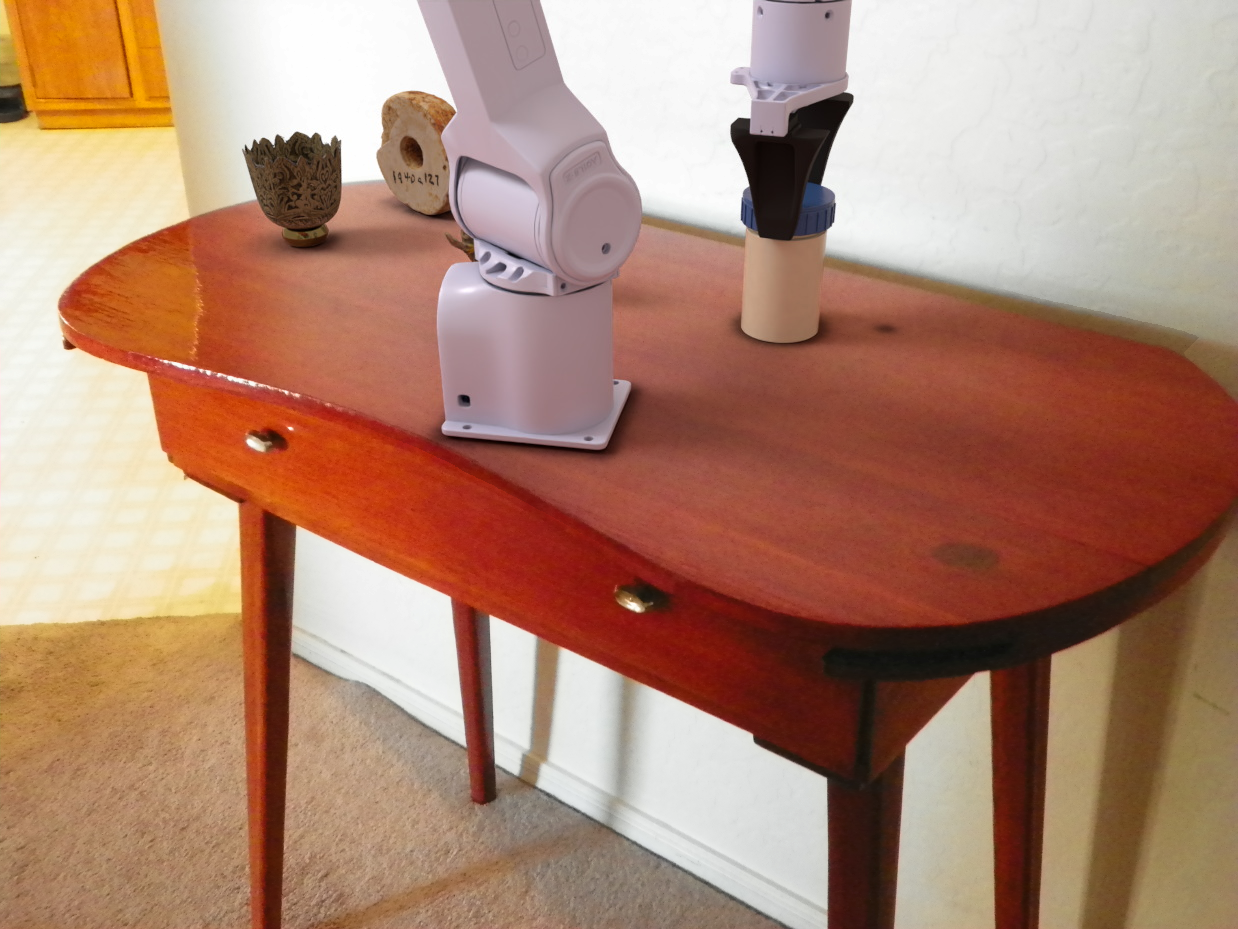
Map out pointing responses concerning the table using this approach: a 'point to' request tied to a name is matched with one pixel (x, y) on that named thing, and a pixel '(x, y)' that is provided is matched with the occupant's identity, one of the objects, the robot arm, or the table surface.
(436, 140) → the stone disc
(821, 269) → the jar
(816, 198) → the lid
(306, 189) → the cup
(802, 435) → the table surface
